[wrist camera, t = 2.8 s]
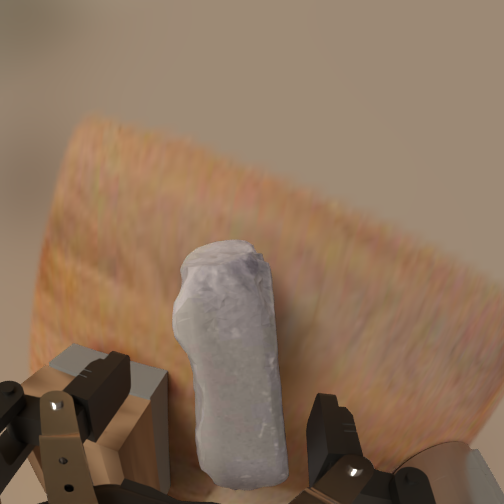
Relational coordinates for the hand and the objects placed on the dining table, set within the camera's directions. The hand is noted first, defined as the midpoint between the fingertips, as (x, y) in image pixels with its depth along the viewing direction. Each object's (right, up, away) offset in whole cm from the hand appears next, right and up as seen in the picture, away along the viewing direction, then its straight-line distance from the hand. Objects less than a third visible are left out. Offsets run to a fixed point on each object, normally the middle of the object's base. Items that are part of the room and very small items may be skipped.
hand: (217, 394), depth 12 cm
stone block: (+1, +2, +8) cm, 9 cm away
